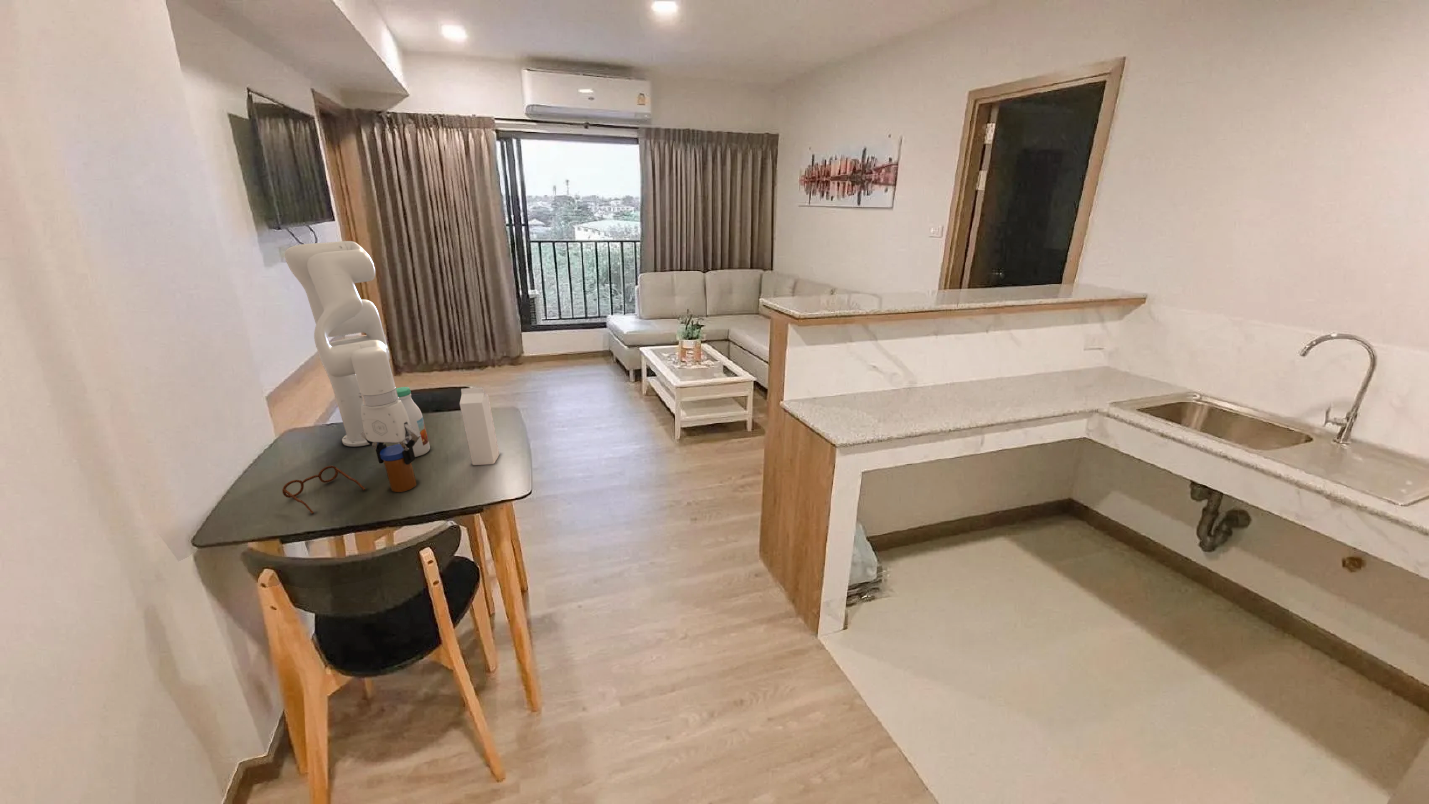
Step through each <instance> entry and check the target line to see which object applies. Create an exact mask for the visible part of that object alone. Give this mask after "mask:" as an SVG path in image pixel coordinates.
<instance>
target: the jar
mask: <svg viewBox="0 0 1429 804" xmlns="http://www.w3.org/2000/svg"><path fill="white" fill-rule="evenodd" d="M383 461H384V462H383V465H384V469H385V472H386V475H387V479H388V483H389V486H390V490H391V491H392V492H393V493H403V492H407V491H409V490H411V489H413V488H415V487H416V486H417V483H418V482H417V479H416V475H415V471H414V467H413V462H411V463H410V464H409V465H406V464H405V461H404V458H401V459H398V460H393V461H385V460H383Z"/></svg>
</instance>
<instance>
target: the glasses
mask: <svg viewBox="0 0 1429 804" xmlns="http://www.w3.org/2000/svg"><path fill="white" fill-rule="evenodd" d="M329 469H334V475H333V476H332V477H331V478H329V479H326V480H325V479H323V477H322V475H323V473H324V472H325V471H327V470H329ZM339 474H340V475H342V476H343V477H345V478H346V479H348V481H349V480H350V481H352V482H354V483H355V484H356V485H357V486H358V487H359V488H360V489H361V490H363V491H365V490H366V487H364V486H363V485H362V484H361V483H360V482H359V481H358V480H357V479H355V478H354V477H351V476H349V475H348V474H346V473H345V472H344V471H342V470H341V469H339V468H338V467H337V466H335V465H327V466H324V467H322V469H321V470H320V471H319V472H318V474H314V475H311V476H310V477H307V478H305V479H303V480H301V479H293V480H290V481H288V482H287V483H285V484H284V485H283V487H282V491H281V492H282V495H283V496H284V497H285V498H287V499H291V498H292V499H293V500H294V501H295V502H297V503H301V505H303V506H304V507H305V508H306V509H307V511H309V512H310V513H311V515H314V511H313V510H312V509H311V508H310V506H309V505H308V504H307V502H305V501H303V500H302V499H299V498H298V496H299V495H300V494H301V493H302V492H303V491H304V488H305V483H306V482H308V481H311V480H313V479H316V478H318V479H319V481H320V482H321V483H324V484H327V483H330V482H332V481H334V480H336V479H337V477H338V476H339ZM294 483H295V484H296V483H299V485H300V488H299V490H298V491H297V492H295V493H294V494H292V493H291V492H290V491H288V490H287V488H288V487H289V486H290V485H291V484H294Z"/></svg>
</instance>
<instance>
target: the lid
mask: <svg viewBox="0 0 1429 804" xmlns="http://www.w3.org/2000/svg"><path fill="white" fill-rule="evenodd" d="M403 450H404V449H403V448H402V446H401V445H400V444H399V443H395V444H392V445H389V446H387V447H386V448H384V449H382V450H381V451H380V457H381V459H382V460H385V461H393V460H398V459H401V458H404V457H403V453H402V451H403Z"/></svg>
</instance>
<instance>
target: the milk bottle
mask: <svg viewBox="0 0 1429 804" xmlns="http://www.w3.org/2000/svg"><path fill="white" fill-rule="evenodd" d="M396 390H397V394H398V398H399V400H401V402H402V403H403V405H404V408H405V410H406V412H407V415H408V418H409V421H410V424H411V427H412V428H413V429H414V430H416V431H417V432H418V433H420V435H421V436H420V438H419V439H418V440H417V442H416V443H415V444H414V446H413V451H414V455H415V458H416V457H417V458H418V457H420V456H424V455H425V454H428V452H429V451H430V450H431V445H430V441H429V437H428V432H427V428H426V424H425V420H424V417H423V413H422V411H421V409H420V408H419V406H418V405H417V404H416V402H414V400H413V399H412V392H411V388H410V387H408V386H401V387H396ZM409 437H410V438H412V437H411V435H410V436H409ZM404 441H405V443H406V444H407V442H406V440H404Z"/></svg>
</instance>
